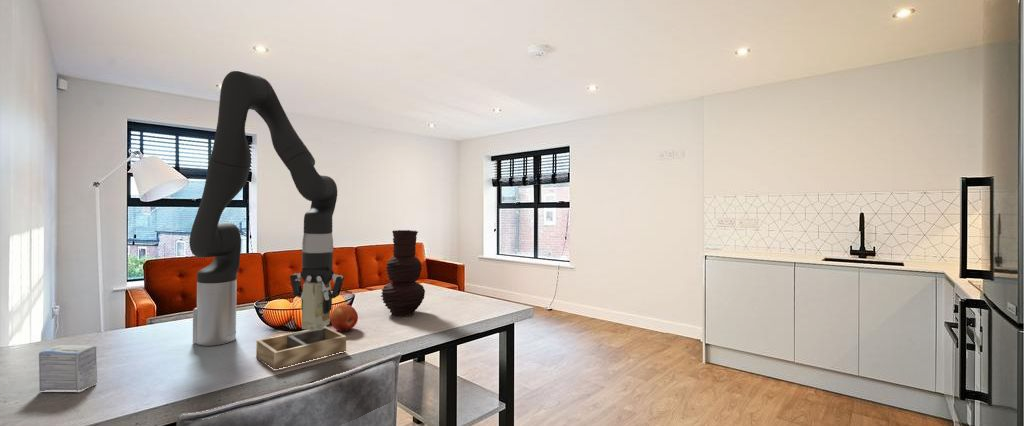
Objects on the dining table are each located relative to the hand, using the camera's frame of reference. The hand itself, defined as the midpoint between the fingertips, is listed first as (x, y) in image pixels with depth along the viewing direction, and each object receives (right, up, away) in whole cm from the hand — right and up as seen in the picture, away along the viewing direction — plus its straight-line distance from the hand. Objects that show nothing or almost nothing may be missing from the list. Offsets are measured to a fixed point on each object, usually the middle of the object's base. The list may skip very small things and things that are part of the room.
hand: (316, 312), depth 116 cm
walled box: (-3, -11, -2) cm, 11 cm away
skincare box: (0, -4, 0) cm, 4 cm away
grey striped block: (-41, -10, -25) cm, 49 cm away
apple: (0, -10, +19) cm, 21 cm away
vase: (+13, -10, +40) cm, 43 cm away
